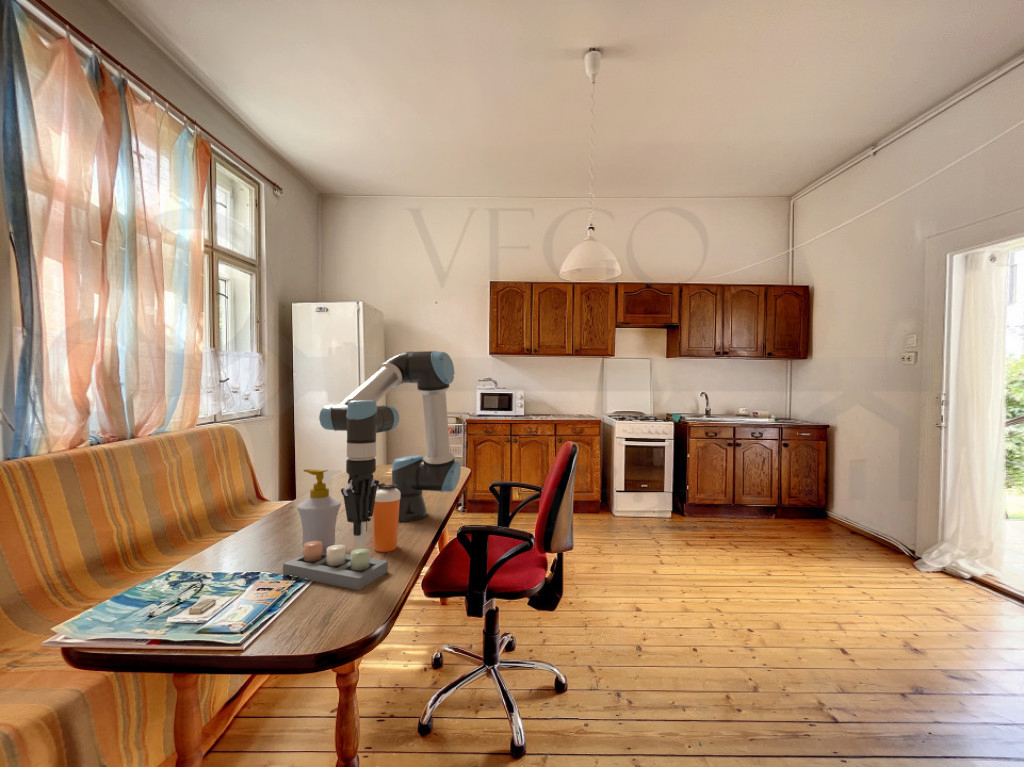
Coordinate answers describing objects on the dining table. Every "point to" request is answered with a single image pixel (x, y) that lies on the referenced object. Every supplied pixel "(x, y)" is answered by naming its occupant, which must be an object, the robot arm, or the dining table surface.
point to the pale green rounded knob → (360, 559)
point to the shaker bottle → (386, 517)
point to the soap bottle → (319, 513)
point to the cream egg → (335, 555)
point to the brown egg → (312, 551)
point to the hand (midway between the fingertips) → (360, 546)
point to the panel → (336, 571)
